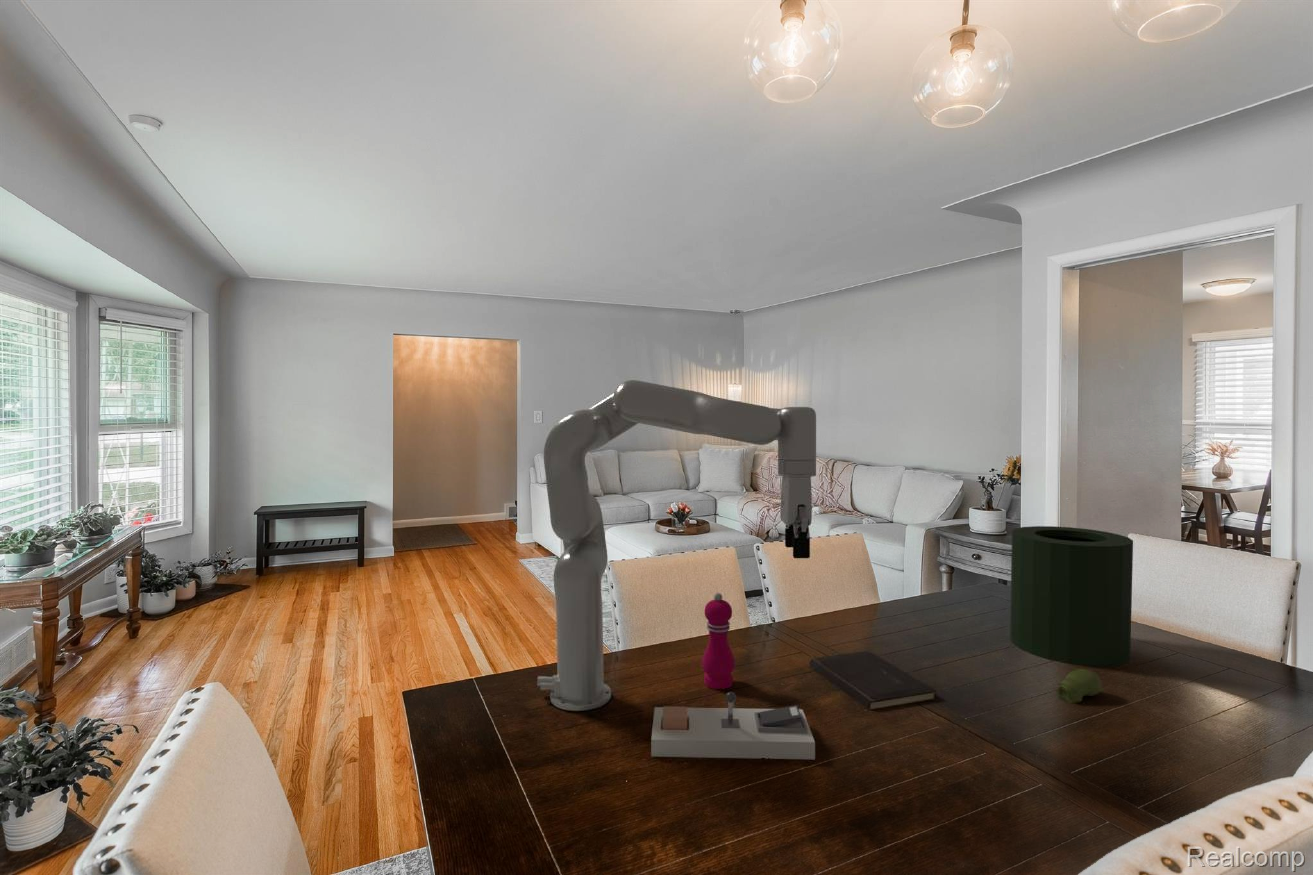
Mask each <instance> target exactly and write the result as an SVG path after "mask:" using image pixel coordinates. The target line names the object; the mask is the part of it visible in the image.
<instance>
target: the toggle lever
mask: <svg viewBox="0 0 1313 875" xmlns="http://www.w3.org/2000/svg"><path fill="white" fill-rule="evenodd" d="M725 699H726V701H727V708H728V723H730V724H731V723H733V708H735V706H734V703H735V701H736V699H737V696H736V693H735V692H733V691H729V692H726V695H725Z"/></svg>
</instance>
